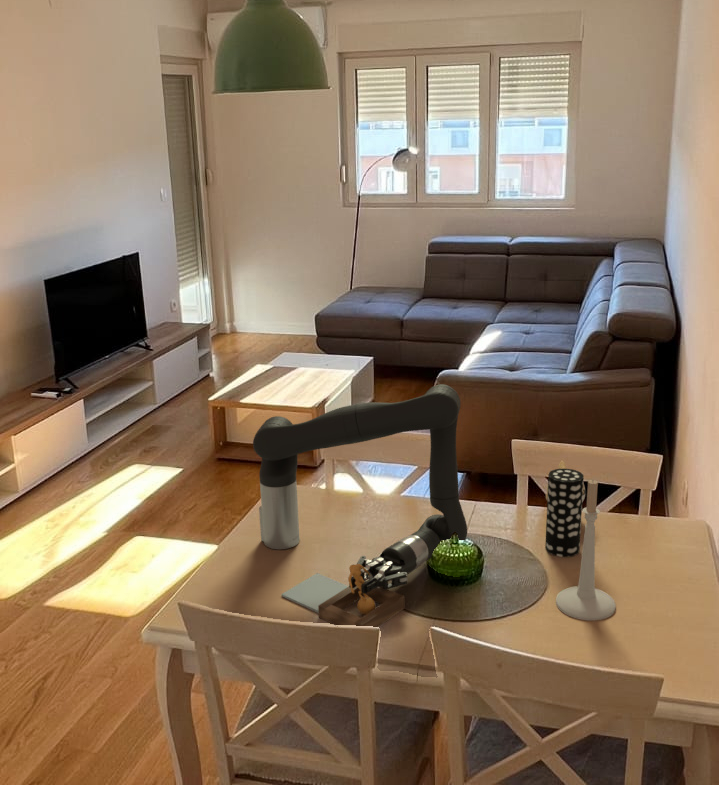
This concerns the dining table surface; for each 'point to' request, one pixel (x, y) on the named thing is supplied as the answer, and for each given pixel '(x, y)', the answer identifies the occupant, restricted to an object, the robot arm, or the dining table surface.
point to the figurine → (365, 602)
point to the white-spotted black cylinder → (564, 512)
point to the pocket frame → (387, 609)
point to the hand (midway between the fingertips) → (356, 586)
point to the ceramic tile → (314, 591)
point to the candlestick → (587, 574)
